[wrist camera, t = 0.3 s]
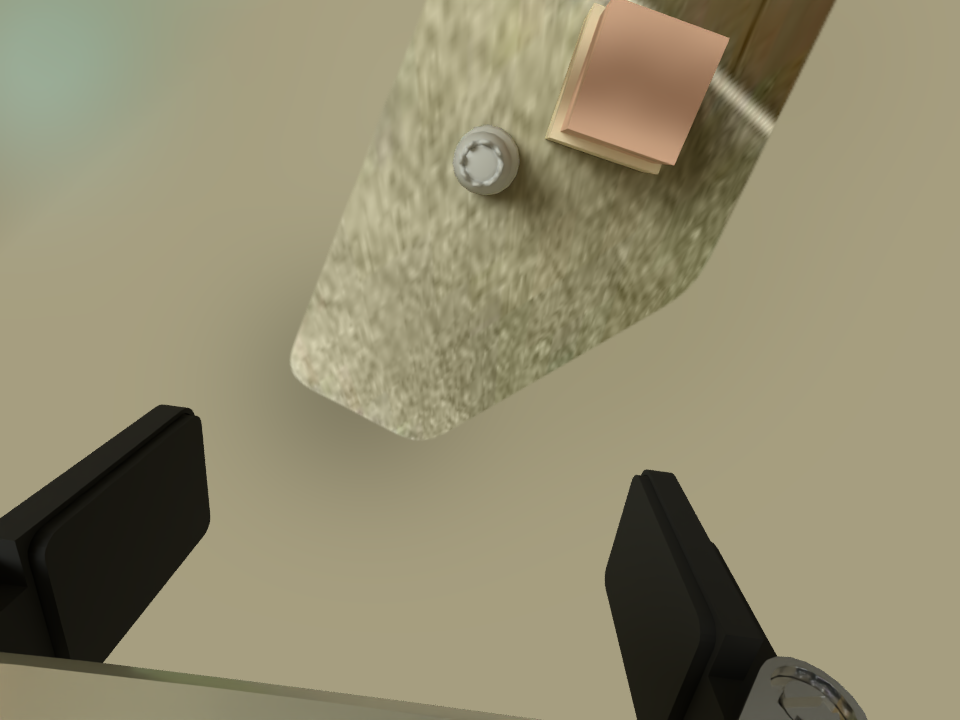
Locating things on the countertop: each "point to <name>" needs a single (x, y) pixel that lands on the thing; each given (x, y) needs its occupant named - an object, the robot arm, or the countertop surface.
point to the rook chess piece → (486, 160)
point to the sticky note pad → (634, 85)
